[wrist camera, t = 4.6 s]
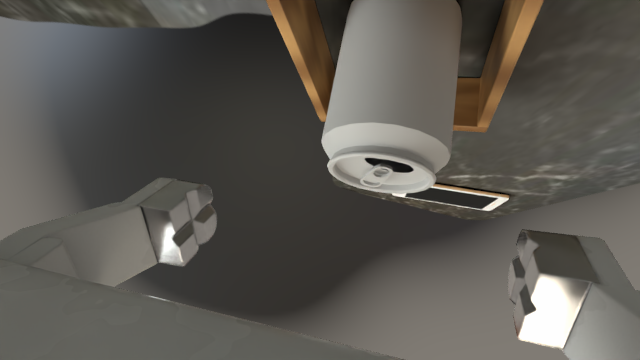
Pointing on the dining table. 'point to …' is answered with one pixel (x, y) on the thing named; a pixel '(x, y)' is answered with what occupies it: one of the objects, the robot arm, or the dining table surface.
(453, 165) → the dining table surface
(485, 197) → the cell phone
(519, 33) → the crate
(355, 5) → the can
